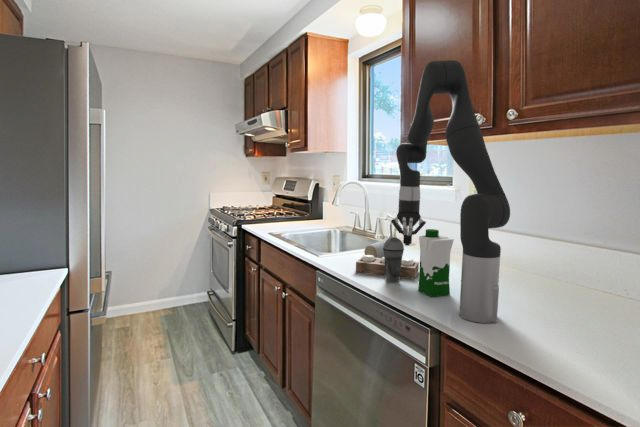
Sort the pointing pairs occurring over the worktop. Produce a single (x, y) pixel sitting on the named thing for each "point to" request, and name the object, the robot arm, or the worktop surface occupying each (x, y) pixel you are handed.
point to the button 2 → (407, 262)
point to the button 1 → (368, 258)
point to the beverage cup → (393, 258)
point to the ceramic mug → (375, 250)
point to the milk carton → (434, 263)
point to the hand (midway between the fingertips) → (407, 245)
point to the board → (379, 268)
